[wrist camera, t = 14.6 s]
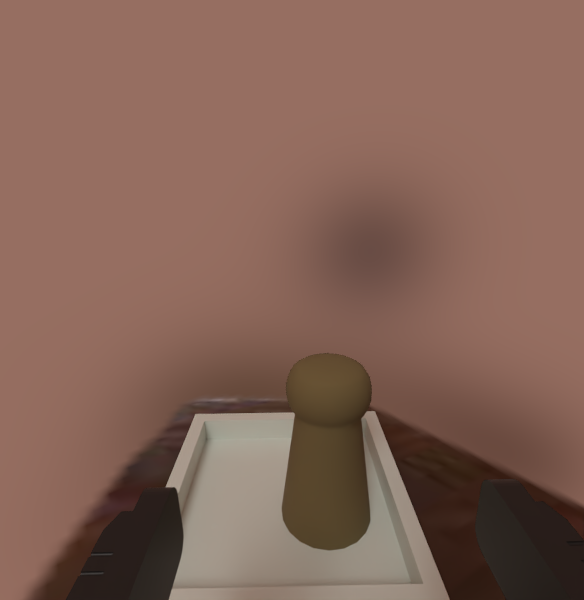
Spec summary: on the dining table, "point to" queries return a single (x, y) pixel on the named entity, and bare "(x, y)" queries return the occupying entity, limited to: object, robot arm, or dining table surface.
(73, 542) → the dining table surface
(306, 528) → the cork
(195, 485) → the serving tray
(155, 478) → the dining table surface
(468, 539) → the dining table surface
